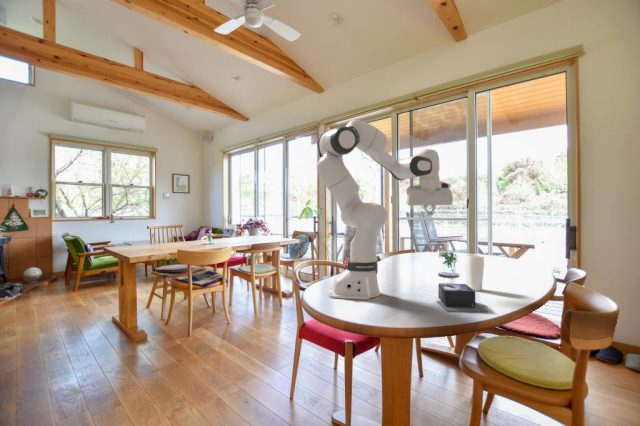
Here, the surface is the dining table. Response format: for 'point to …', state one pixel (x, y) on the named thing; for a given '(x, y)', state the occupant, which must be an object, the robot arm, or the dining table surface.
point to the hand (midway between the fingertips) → (429, 215)
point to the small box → (456, 295)
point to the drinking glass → (475, 271)
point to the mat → (463, 308)
